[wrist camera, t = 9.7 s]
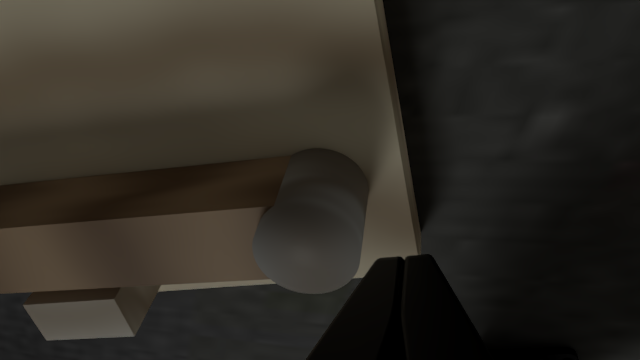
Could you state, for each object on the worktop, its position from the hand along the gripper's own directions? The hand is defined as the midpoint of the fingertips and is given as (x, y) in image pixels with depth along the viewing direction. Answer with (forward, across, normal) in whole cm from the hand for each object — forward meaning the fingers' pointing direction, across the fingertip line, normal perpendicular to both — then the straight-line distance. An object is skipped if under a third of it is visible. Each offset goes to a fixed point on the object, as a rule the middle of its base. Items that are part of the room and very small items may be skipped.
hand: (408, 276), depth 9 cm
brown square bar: (+10, +10, +5) cm, 15 cm away
